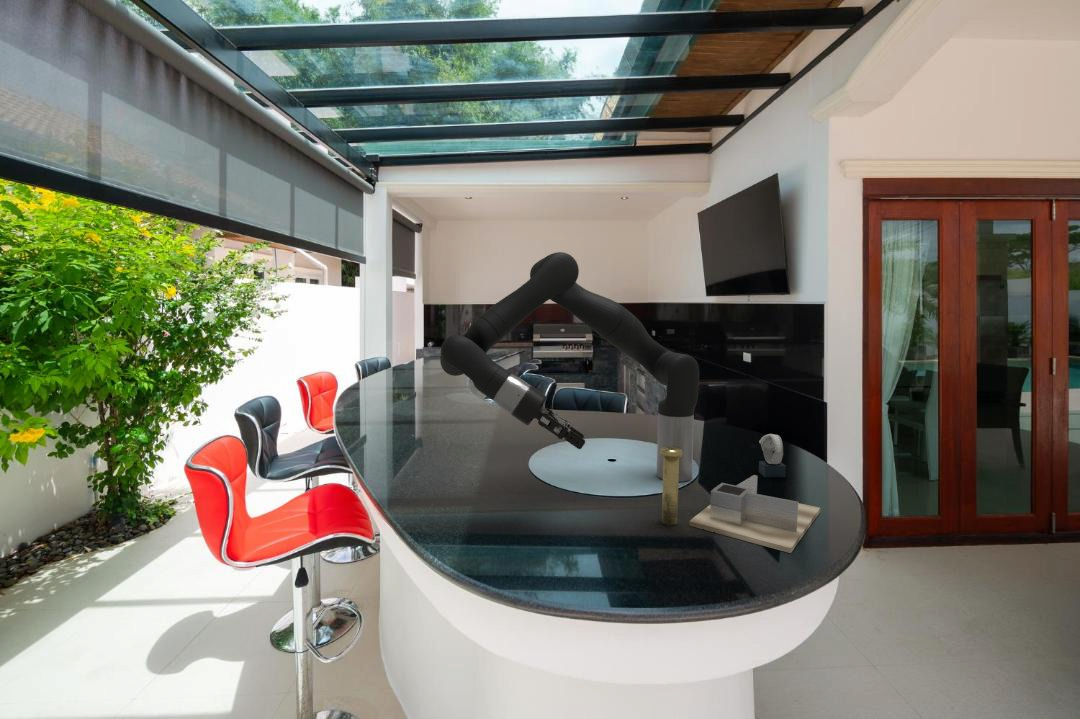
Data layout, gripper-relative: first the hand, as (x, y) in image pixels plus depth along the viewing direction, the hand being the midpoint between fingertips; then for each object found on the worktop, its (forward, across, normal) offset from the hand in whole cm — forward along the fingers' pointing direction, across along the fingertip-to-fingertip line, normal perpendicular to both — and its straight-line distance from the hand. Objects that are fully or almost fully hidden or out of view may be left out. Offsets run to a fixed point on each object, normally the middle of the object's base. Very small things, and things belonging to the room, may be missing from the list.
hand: (582, 442), depth 115 cm
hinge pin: (+25, +2, +4) cm, 25 cm away
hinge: (+41, +4, -9) cm, 42 cm away
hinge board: (+41, +4, -8) cm, 42 cm away
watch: (+51, +34, -19) cm, 64 cm away
